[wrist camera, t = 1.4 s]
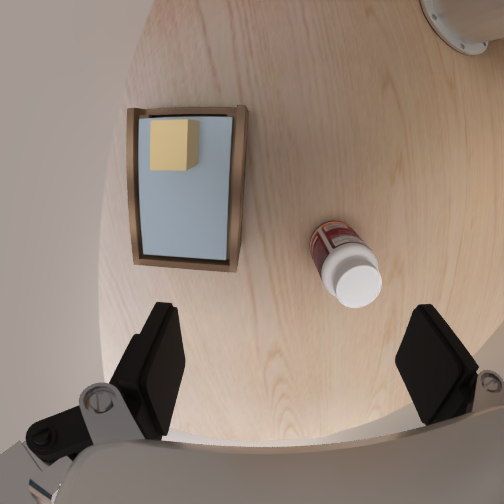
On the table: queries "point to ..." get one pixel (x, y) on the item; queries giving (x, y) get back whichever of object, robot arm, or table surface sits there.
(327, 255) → the pill bottle
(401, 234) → the table surface
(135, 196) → the walnut box
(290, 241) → the table surface
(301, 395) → the table surface
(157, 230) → the cover plate
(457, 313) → the table surface
